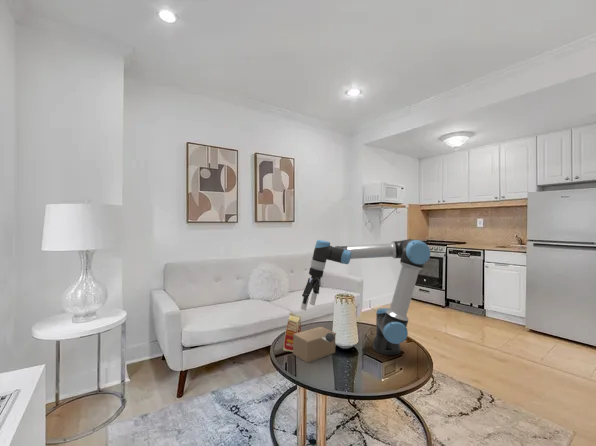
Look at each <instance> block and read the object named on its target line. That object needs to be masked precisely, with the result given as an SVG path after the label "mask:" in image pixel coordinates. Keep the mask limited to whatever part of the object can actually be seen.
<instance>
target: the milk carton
mask: <svg viewBox="0 0 596 446" xmlns="http://www.w3.org/2000/svg"><path fill="white" fill-rule="evenodd" d="M302 317H303V316H301V315H299V314H294V313H292V312H289V316H288V319H287V324H286V326H285V327H286V328H285V331H284V332H285V333H284V338H283V348H282V351H285V352H291V353H293V336H294V335H293V334H295V333H299V332H302V326H301V323H302V322H301V321H302V320H301V319H302Z"/></svg>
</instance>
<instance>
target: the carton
mask: <svg viewBox="0 0 596 446" xmlns="http://www.w3.org/2000/svg"><path fill="white" fill-rule="evenodd" d="M335 353H336V335H334V340H333V341H332V342H327V341H325V340H323V339H320V340H317V341H313V342H310V343H307V342H305V341H303V340H301V339H299V338H297V337H295V336H293V352H292V355H294V356H296V357H297V358H299V359H301V360H302V361H303V362H306V363H310V362H313V361H315V360H319V359H321V358H323V357H324V358H325V357H327V356H330V355H333V354H335Z"/></svg>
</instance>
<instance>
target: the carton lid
mask: <svg viewBox="0 0 596 446" xmlns="http://www.w3.org/2000/svg"><path fill="white" fill-rule="evenodd" d="M293 335H294V336H295V337H297V338H299V339H301V340H303V341H305V342H307V343H310V342H313V341H317V340H320V339H323V340H325V341H327V342H332V341H333V340H334V335H335V336H336V335H337V333H336V332H335V333H334V331H332V330H330V329H327V328H325V327H322V326H319V327H314V328H311V329H306V330H304V331H301V332H299V333H295V334H293Z"/></svg>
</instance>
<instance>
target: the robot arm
mask: <svg viewBox="0 0 596 446" xmlns="http://www.w3.org/2000/svg"><path fill="white" fill-rule="evenodd" d="M430 257H431V249H430V247H429V246H428V244H427V243H426V242H425V241H422V240H418V239H401V240H395V241H392V242H390V243H377V244H361V245H359V244H358V245H345V246H343V245H340V246H339V245H336V246H332V245H331V242H330V241H327V240H324V239H317V240H316V243H315V245H314V250H313V253H312V259H311V260H310V267H309V271H308V274H309V276H310V277H309V278H307V282H306V285H305V287H304V290H303V292H302V295H301V296H302V302H301V307H300V310H304V311H307V306H308V303H309V305H311V306H315V305H316V301H317V297H318V295H320V286H321V285H320V284H321V279H322V278H323V275H324V270H325V267H326V265H327V264H326V263H327V260H328V261H332V262H335V263H340V264H344V265H349V264H350V261H351V260H353V259H354V260H355V259H374V258H393V259H400V261H399V263H400V265H401V268H400V272H399V274H398V275H399V276H398V278H397V279H398V280H397V282H396V284H395V285H396V286H395V288H394V289H395V290H394V293H393V297H392V300H391V304H390V308H387V307H385V308H383V307H381V308H377V309H376V313H375V314H376V315H375V316H376V317H375V318H376V322H375V323H376V324H375V325H376V326H375V327H376V329H375V330H376V331H375V338H374V340H373V342H372V349H373V350H374V351H375V352H376V353H379V354H381V355H386V356H397V355H399V354H401V351H402V350H401V349H402V348H401V345H400V344H401V343H403V342H405V341H406V340H407V337H408V336H409V335H408V334H409V332H408V328H407V327H408V323H409V317H408V316H407V314H408V311H409V307H410V304H411V301H412V298H413V297H412V296H413V293H414V290H415V286H416V283H417V280H418V276H419V272H420V271H421V270H423V269H424V268H425V263H426V262H428V261H429V260H430ZM311 292H312V293H311ZM310 295H311V296H310ZM309 297H310V298H309ZM309 299H310V301H309Z"/></svg>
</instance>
